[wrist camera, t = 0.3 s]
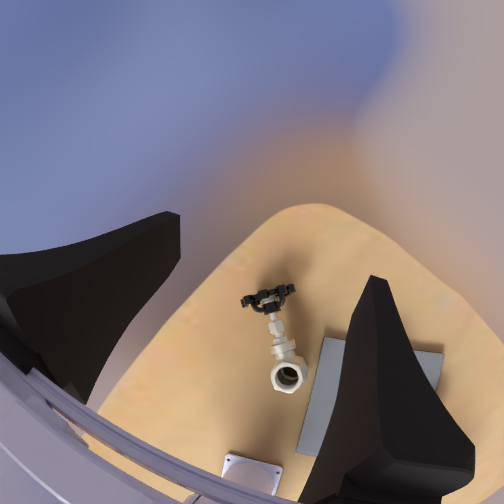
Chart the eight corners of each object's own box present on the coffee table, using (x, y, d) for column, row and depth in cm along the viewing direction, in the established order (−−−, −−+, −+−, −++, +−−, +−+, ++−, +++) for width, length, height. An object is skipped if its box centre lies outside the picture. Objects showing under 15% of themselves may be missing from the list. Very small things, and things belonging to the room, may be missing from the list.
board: (408, 463, 32) (415, 476, 28) (296, 449, 36) (293, 462, 32) (441, 353, 34) (452, 357, 31) (324, 336, 38) (324, 339, 35)
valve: (322, 375, 38) (296, 285, 40) (321, 387, 31) (290, 280, 34) (272, 388, 39) (247, 300, 42) (262, 402, 32) (232, 298, 35)
